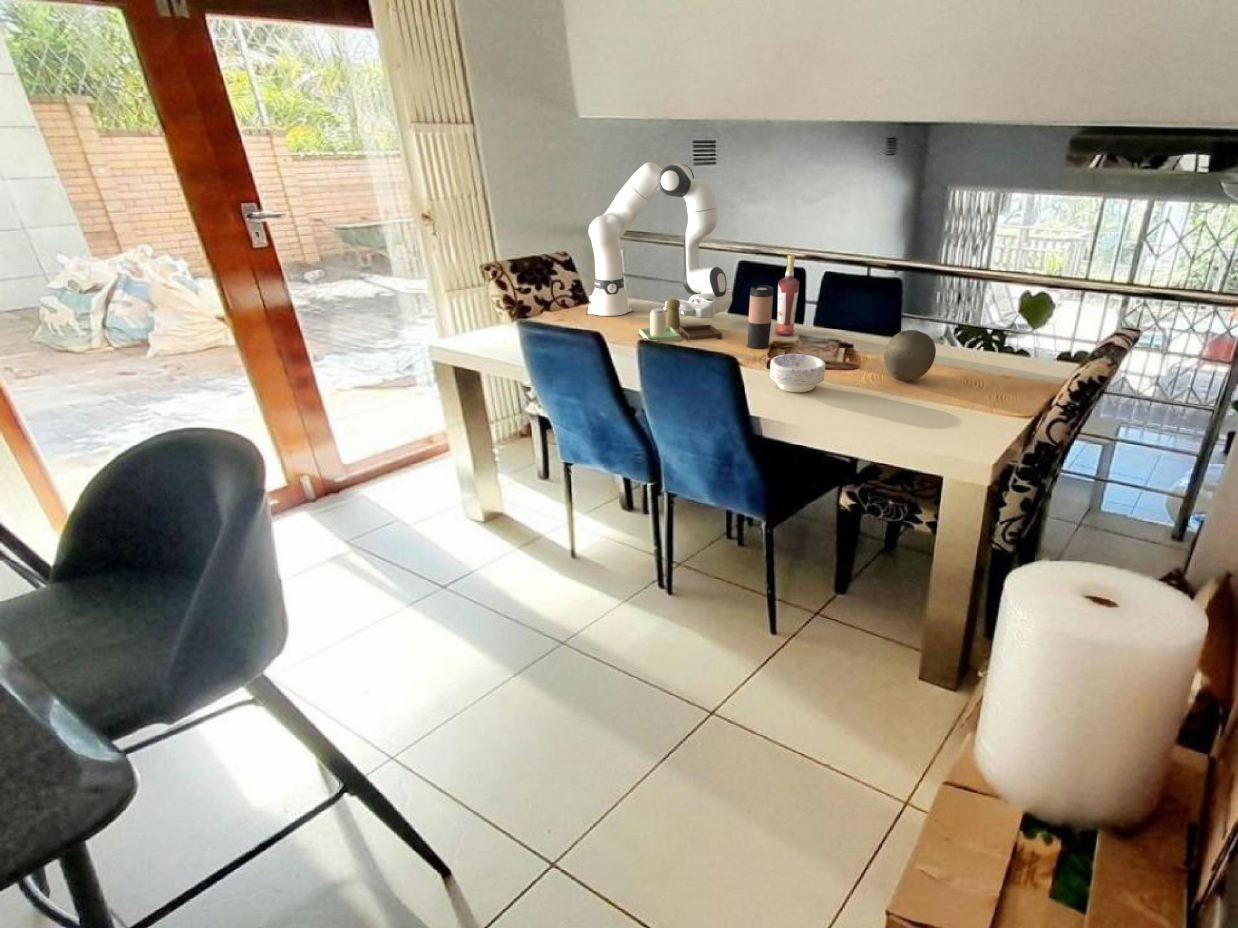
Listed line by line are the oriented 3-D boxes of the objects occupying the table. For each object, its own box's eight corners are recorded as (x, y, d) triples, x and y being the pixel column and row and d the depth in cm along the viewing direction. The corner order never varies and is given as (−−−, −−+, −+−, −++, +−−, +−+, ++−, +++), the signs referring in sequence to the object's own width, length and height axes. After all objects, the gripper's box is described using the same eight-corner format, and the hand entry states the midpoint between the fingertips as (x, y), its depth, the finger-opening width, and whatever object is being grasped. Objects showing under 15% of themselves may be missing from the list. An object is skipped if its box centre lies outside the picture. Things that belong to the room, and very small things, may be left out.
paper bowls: (798, 400, 193) (801, 372, 190) (757, 386, 205) (759, 360, 201) (834, 388, 201) (837, 362, 198) (793, 376, 213) (795, 350, 209)
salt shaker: (648, 335, 256) (648, 308, 252) (663, 334, 257) (663, 307, 253) (652, 339, 252) (652, 311, 247) (667, 338, 252) (667, 310, 248)
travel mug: (767, 349, 239) (772, 290, 230) (745, 348, 241) (748, 289, 233) (770, 343, 245) (775, 286, 237) (748, 342, 248) (752, 285, 239)
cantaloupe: (872, 375, 212) (878, 326, 206) (917, 373, 213) (925, 324, 206) (891, 390, 199) (899, 338, 193) (940, 388, 200) (949, 336, 194)
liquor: (796, 336, 253) (804, 256, 241) (776, 337, 253) (782, 257, 241) (792, 331, 260) (799, 253, 248) (772, 332, 260) (778, 254, 248)
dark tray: (679, 332, 262) (679, 326, 261) (710, 329, 264) (710, 324, 263) (689, 341, 250) (689, 335, 250) (721, 338, 253) (722, 333, 252)
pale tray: (639, 334, 261) (639, 329, 260) (671, 332, 263) (671, 326, 262) (647, 343, 249) (647, 338, 248) (680, 341, 251) (680, 335, 250)
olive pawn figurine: (662, 328, 268) (662, 299, 264) (675, 326, 270) (676, 297, 266) (669, 331, 263) (670, 302, 259) (683, 329, 266) (684, 300, 261)
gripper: (680, 293, 278) (654, 299, 270) (718, 301, 264) (693, 307, 256) (679, 309, 281) (654, 315, 273) (717, 318, 267) (692, 324, 259)
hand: (673, 311), depth 264 cm, fingers open, 8 cm apart
